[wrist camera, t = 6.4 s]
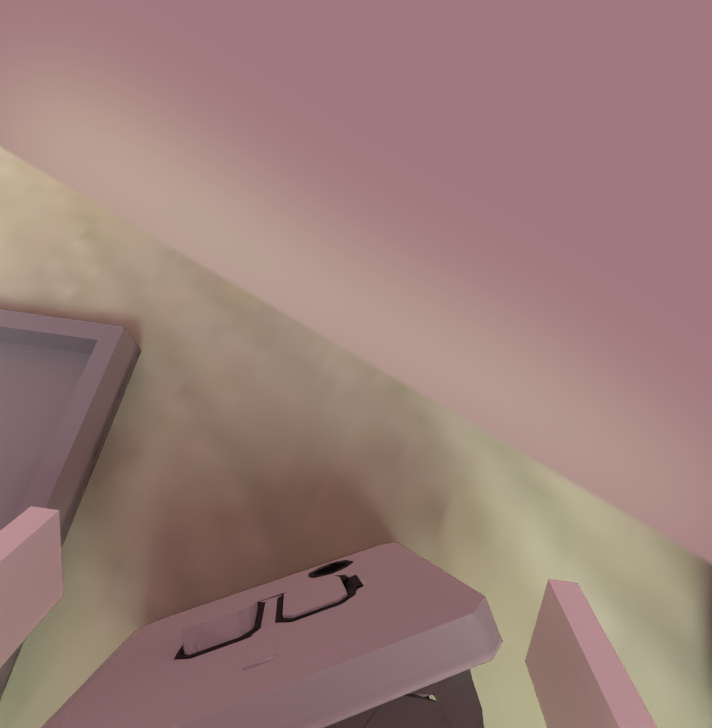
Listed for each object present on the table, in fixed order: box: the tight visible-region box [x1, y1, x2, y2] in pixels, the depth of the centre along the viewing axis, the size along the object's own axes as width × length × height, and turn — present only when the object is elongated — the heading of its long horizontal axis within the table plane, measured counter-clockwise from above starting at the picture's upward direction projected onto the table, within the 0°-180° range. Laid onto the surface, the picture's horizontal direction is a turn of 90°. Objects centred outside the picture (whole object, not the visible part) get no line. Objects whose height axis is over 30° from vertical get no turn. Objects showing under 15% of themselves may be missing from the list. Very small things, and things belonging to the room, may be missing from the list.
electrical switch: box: [41, 542, 503, 728], centre depth 12 cm, size 9×5×9 cm, turn 108°
